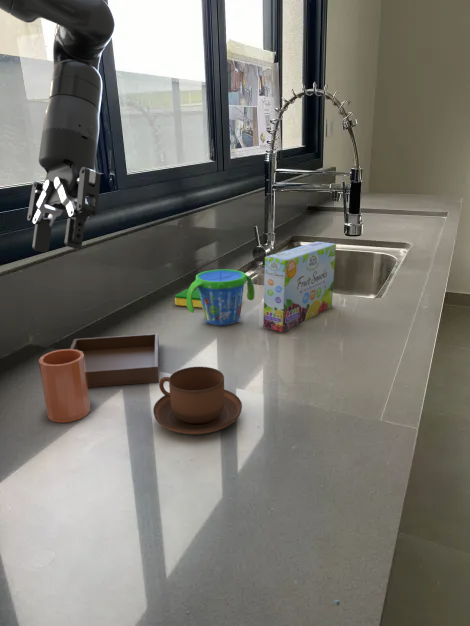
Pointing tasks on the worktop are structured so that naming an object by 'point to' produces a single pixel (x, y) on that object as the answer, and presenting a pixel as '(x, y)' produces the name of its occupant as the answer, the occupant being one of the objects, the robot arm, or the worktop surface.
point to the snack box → (298, 285)
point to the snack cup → (221, 295)
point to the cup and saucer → (196, 402)
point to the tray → (120, 359)
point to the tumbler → (65, 385)
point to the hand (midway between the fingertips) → (55, 249)
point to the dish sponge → (182, 298)
